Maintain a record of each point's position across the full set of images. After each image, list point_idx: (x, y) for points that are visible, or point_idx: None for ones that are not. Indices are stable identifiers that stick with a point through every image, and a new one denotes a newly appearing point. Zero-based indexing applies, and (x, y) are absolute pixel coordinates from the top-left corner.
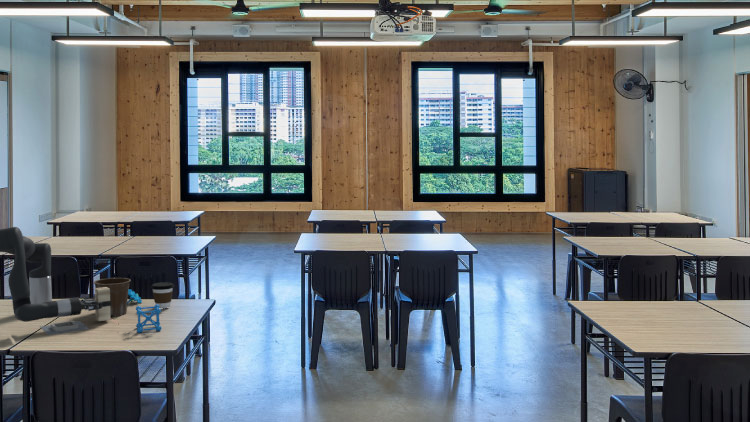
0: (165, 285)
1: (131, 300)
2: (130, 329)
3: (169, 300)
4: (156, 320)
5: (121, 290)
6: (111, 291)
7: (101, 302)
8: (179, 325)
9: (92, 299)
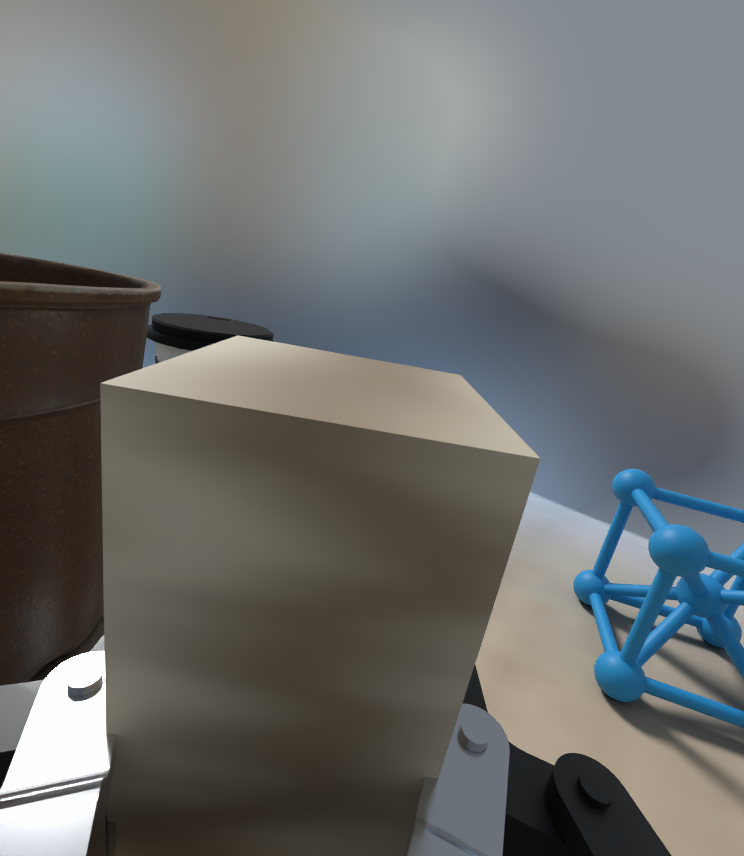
0: (257, 331)
1: None
2: (652, 764)
3: None
4: (603, 571)
5: None
6: (62, 400)
7: (503, 734)
8: (592, 543)
9: (87, 814)
